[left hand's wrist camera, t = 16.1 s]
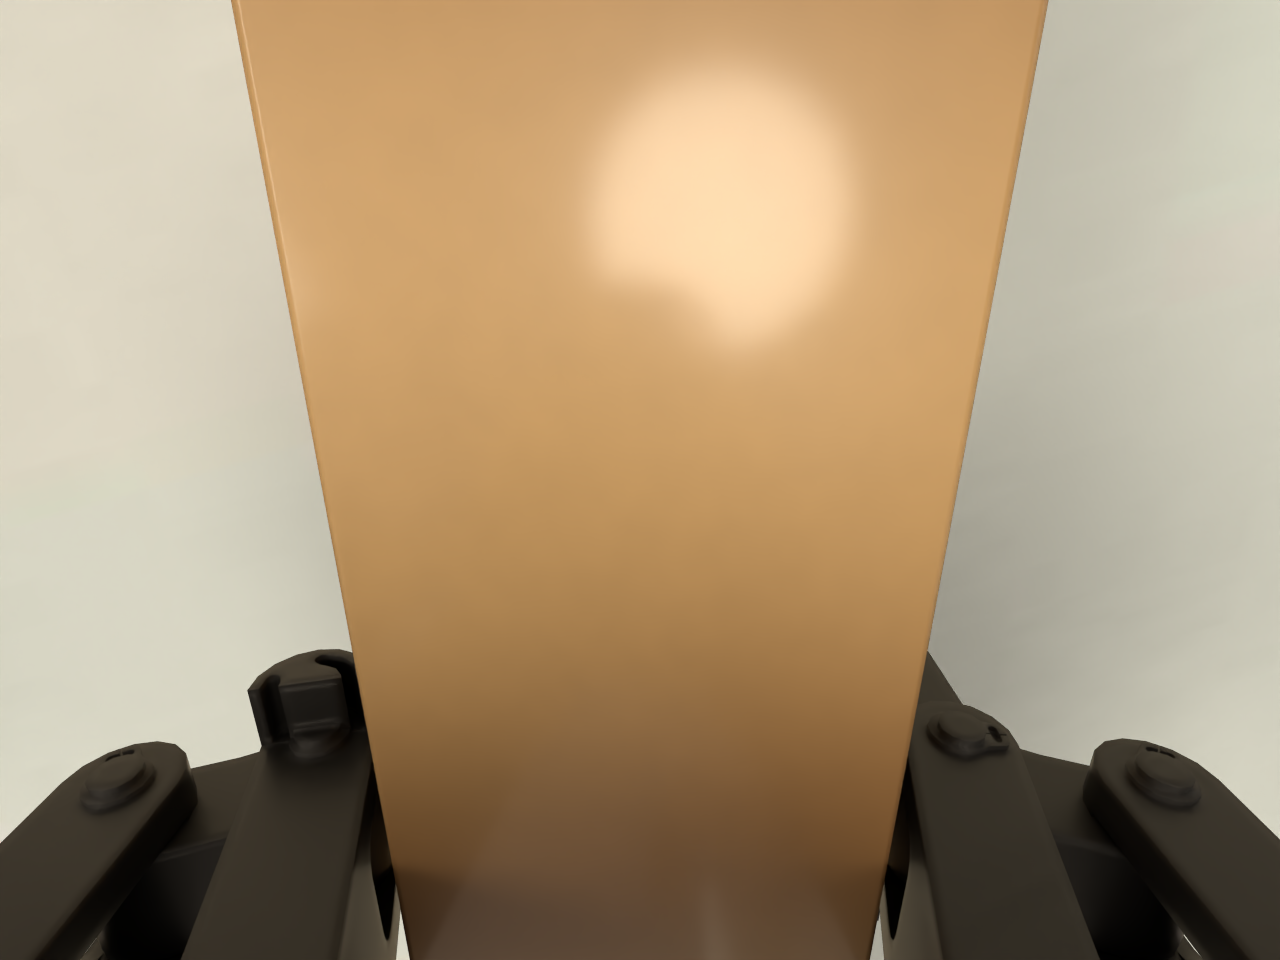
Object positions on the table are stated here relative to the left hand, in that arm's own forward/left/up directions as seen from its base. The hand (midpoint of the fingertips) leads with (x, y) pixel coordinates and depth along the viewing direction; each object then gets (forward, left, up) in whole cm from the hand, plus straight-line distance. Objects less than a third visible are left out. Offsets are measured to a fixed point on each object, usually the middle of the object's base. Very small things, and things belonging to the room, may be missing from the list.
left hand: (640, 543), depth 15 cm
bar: (+8, +5, -1) cm, 10 cm away
